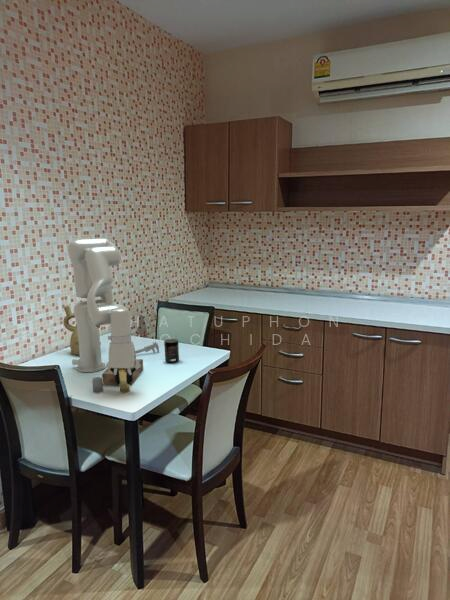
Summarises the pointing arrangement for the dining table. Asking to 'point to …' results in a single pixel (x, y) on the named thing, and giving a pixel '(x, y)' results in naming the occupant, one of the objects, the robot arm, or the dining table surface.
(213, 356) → the dining table surface
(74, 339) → the ceramic vessel
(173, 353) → the supplement container
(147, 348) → the caliper
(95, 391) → the short pin
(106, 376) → the hole block
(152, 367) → the dining table surface
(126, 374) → the long pin
